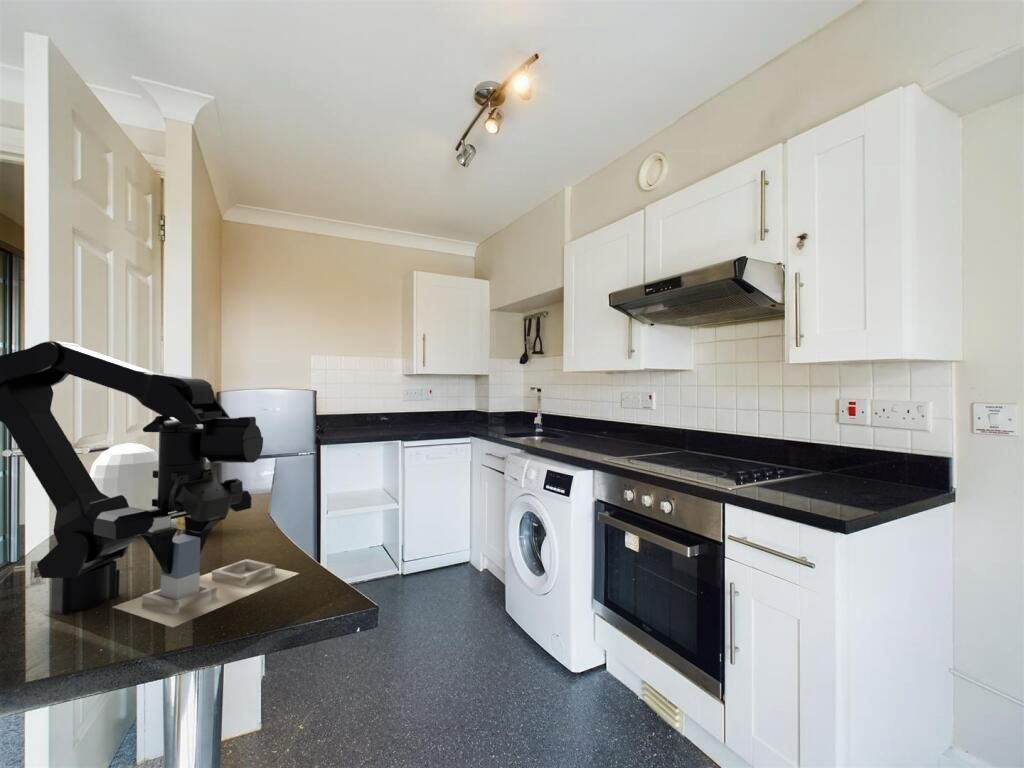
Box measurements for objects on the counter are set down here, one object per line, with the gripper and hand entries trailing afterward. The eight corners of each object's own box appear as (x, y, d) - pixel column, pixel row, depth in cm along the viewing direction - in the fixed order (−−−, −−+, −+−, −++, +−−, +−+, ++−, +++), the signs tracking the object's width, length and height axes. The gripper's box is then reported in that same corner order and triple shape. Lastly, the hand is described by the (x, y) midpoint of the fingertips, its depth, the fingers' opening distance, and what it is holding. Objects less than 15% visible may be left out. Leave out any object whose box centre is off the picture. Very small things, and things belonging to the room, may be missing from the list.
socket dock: (172, 634, 60) (173, 615, 60) (112, 613, 66) (112, 596, 66) (299, 579, 79) (299, 564, 79) (243, 566, 84) (243, 552, 84)
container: (100, 526, 109) (102, 441, 110) (169, 520, 115) (171, 439, 116) (75, 543, 97) (78, 447, 98) (154, 535, 103) (156, 444, 103)
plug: (177, 600, 66) (178, 543, 66) (160, 595, 67) (161, 539, 67) (199, 592, 68) (200, 537, 68) (182, 587, 70) (183, 534, 70)
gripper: (143, 477, 56) (139, 606, 56) (276, 458, 73) (274, 557, 73) (93, 470, 61) (89, 590, 61) (229, 454, 78) (227, 547, 78)
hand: (180, 569), depth 68 cm, fingers closed on plug, 3 cm apart
